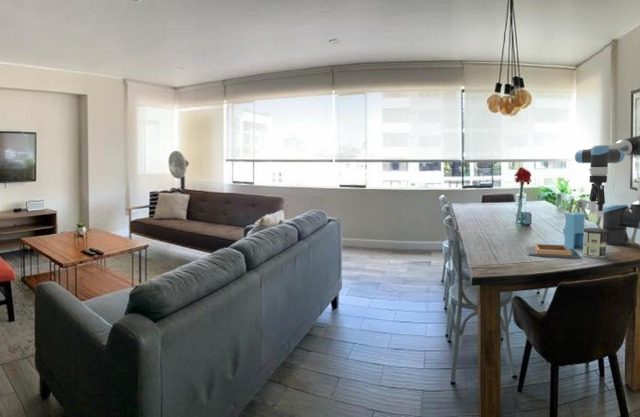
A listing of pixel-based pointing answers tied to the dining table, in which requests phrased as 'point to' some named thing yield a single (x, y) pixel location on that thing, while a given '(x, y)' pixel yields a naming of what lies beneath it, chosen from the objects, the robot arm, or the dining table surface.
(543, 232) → the dining table surface
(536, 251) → the collar plate
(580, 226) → the open-sided blue scoop
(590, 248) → the coffee can
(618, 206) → the robot arm
